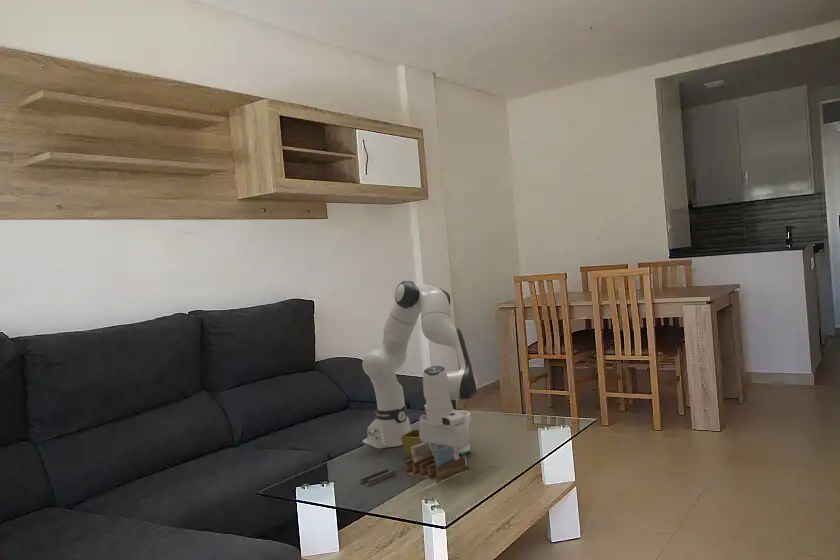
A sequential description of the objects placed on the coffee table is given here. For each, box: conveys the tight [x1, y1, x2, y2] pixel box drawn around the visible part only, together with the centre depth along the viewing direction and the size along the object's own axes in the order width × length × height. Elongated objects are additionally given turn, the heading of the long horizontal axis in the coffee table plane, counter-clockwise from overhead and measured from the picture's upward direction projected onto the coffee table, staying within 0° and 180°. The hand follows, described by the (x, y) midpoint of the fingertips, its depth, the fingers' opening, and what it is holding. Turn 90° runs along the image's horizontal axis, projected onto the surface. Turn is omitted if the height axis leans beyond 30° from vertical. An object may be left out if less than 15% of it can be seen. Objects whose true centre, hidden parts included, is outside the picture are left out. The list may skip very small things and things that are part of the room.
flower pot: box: [401, 429, 423, 459], centre depth 246 cm, size 9×9×9 cm
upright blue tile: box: [433, 445, 455, 467], centre depth 223 cm, size 2×8×8 cm, turn 132°
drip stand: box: [359, 467, 398, 488], centre depth 224 cm, size 7×11×3 cm, turn 133°
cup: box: [457, 410, 472, 456], centre depth 245 cm, size 11×11×14 cm
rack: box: [402, 442, 470, 484], centre depth 227 cm, size 17×15×9 cm
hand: (445, 457), depth 223 cm, fingers open, 8 cm apart
